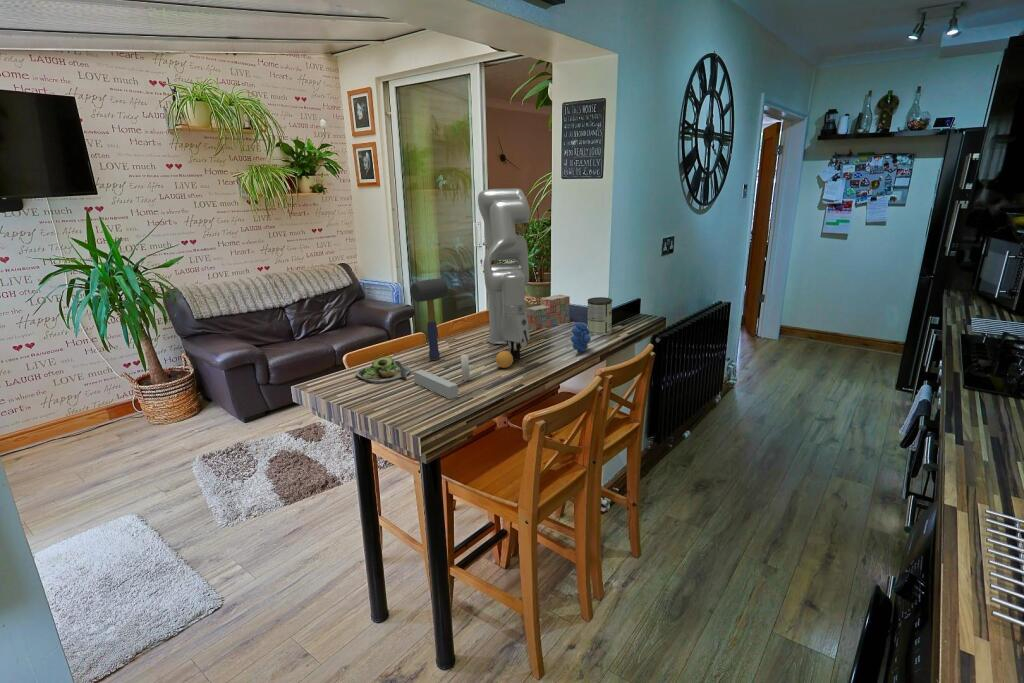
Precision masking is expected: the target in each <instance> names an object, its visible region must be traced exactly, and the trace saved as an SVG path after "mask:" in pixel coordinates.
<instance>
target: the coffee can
mask: <svg viewBox="0 0 1024 683" xmlns="http://www.w3.org/2000/svg"><path fill="white" fill-rule="evenodd" d="M612 305H613V299H612V298H609V297H605V296H604V297H602V296H601V297H600V296H599V297H597V296H596V297H590V298H588V299H587V328H588V329H589V331H590V334H589V335H595V336H605V335H609V334H611V333H612V323H613V320H612V316H613V315H612V312H613V309H612V308H613V306H612Z"/></svg>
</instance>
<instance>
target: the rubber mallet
mask: <svg viewBox="0 0 1024 683" xmlns="http://www.w3.org/2000/svg"><path fill="white" fill-rule="evenodd" d="M409 290H410V292H409V293H410V296H411V299H412V300H413V301H415V302H416V303H420V302H426V309H427V320H428V321H427V326H426V331H427V332H426V333H427V340H428V347H429V348H428V349H429V350H428V358H429V359H430V360H431V361H437V360H439V358H440V355H441V354H440V350H439V340H438V339H439V332H438V325H437V322H436V314H435V313H436V312H435V301H434V300H438V299H441V298H445V297H446V296H447V295H448V293H449V292H448V291H449V287H448V284H447V282H446V280H445V279H443V278H431V279H424V280H420V281H417V282H416V281H415V282H413V283H412V284H411V285H410V289H409Z"/></svg>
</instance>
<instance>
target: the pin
mask: <svg viewBox="0 0 1024 683" xmlns="http://www.w3.org/2000/svg"><path fill="white" fill-rule="evenodd" d="M469 362H470V361H469V354H465V353H464V354H461V355H460V363H461V366H460V367H461V377H462V378H461V381H462V380H469V381H470V364H469Z"/></svg>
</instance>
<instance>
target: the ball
mask: <svg viewBox="0 0 1024 683" xmlns="http://www.w3.org/2000/svg"><path fill="white" fill-rule="evenodd" d="M495 362H496V364H497V365H498V367H500V368H503V369H506V368H509V367H510V366H512V364H513V362H514V361H513V356H512V354H511V353H510V351H508V350H501V351H499V352H498V353H497V354H496V356H495Z"/></svg>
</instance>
